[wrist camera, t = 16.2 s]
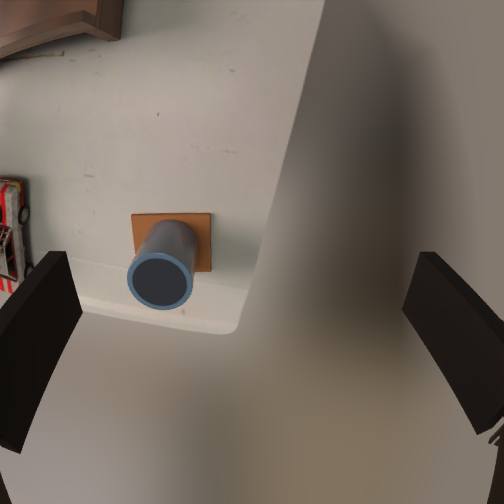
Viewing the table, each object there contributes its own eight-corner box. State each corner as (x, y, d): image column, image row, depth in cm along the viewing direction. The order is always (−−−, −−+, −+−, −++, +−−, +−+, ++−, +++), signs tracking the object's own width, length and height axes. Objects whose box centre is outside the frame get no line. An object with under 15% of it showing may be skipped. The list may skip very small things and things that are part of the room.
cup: (197, 219, 38) (190, 253, 30) (199, 268, 41) (194, 311, 33) (142, 219, 37) (122, 253, 29) (147, 268, 41) (132, 309, 33)
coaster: (210, 213, 39) (210, 214, 38) (211, 269, 42) (210, 271, 42) (131, 214, 38) (130, 215, 37) (138, 269, 41) (137, 271, 41)
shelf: (127, -29, 23) (97, -65, 13) (120, 40, 28) (82, 21, 18) (-17, 20, 21) (-65, 14, 11) (-23, 80, 25) (-74, 86, 16)
